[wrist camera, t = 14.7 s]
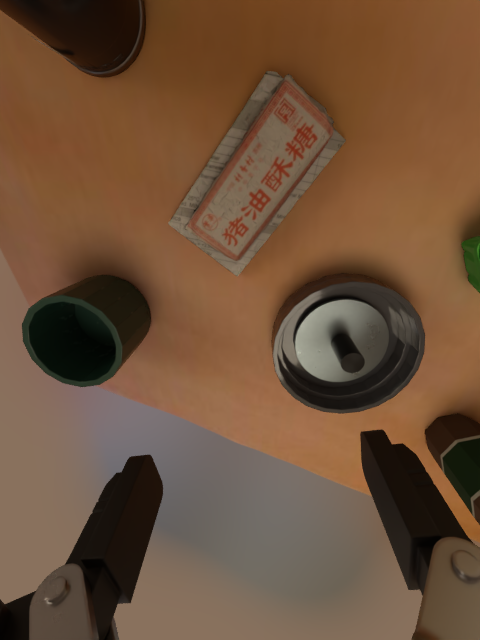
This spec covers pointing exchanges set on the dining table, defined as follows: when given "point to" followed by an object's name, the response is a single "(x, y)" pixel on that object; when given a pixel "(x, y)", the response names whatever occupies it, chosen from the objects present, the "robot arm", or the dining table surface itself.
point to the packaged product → (258, 172)
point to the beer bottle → (458, 456)
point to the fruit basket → (472, 260)
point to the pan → (376, 383)
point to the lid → (341, 340)
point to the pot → (86, 329)
